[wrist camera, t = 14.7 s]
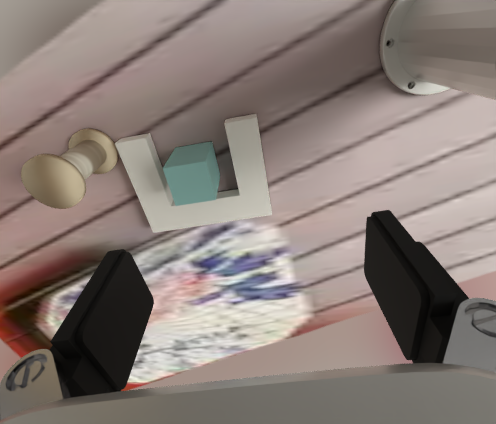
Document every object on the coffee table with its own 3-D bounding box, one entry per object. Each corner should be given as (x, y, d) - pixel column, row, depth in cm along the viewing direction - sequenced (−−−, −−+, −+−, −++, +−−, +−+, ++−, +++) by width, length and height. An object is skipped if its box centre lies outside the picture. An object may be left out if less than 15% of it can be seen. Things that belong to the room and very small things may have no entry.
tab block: (212, 141, 38) (205, 161, 32) (220, 175, 40) (215, 199, 34) (175, 147, 38) (162, 168, 32) (186, 181, 41) (175, 206, 35)
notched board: (256, 113, 36) (257, 117, 34) (271, 207, 43) (272, 214, 41) (120, 138, 37) (114, 143, 36) (156, 225, 45) (153, 232, 43)
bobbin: (106, 124, 36) (64, 151, 28) (125, 167, 40) (92, 204, 31) (63, 132, 37) (8, 162, 28) (84, 174, 40) (41, 212, 32)
